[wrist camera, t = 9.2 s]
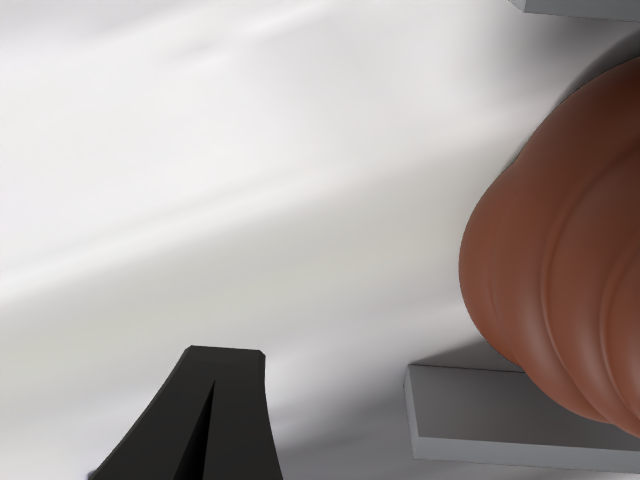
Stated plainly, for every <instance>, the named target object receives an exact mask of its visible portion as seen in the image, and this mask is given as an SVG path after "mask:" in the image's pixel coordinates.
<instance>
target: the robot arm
mask: <svg viewBox="0 0 640 480" xmlns="http://www.w3.org/2000/svg"><path fill="white" fill-rule="evenodd" d="M265 357H266V356H265V355H264V354H263V353H262V352H261V351H260V350H251V349H236V348H222V347H207V346H193V345H191V346H190V347H188V348H187V349H185V351H184V352H183V354H182V356H181V357H180V359H179V361H178V362H177V364H176V366H175V367H174V369H173V370H172V372H171V373H170V375H169V376H168V378H167V379H166V381H165V382H164V384H163V385H162V387H161V388H160V390H159V391H158V392H157V394H156V395H155V397H154V398H153V399H152V401H151V402H150V404H149V405H148V406H147V408H146V409H145V410H144V412H143V413H142V414H141V415H140V417H139V418H138V419H137V421H136V422H135V423H134V425H133V426H132V427H131V428H130V430H129V431H128V432H127V434H126V435H125V436H124V438H123V439H122V440H121V441H120V443H119V444H118V445H117V446H116V447H115V449H114V450H113V451H112V452H111V453H110V454H109V456H108V457H107V458H106V459H105V460H104V461H103V463H102V464H101V465H100V466H99V467H98V468H97V470H96V471H95V472H94V473H93V474H92V475H91V477H90V478H89V479H88V480H283V477H282V474H281V470H280V466H279V462H278V458H277V454H276V449H275V445H274V440H273V436H272V431H271V427H270V421H269V416H268V409H267V402H266V394H265Z"/></svg>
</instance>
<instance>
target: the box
mask: <svg viewBox="0 0 640 480" xmlns="http://www.w3.org/2000/svg"><path fill="white" fill-rule="evenodd" d="M508 1H510V2H511V3H512V4H514V5H515V6H516V7H517V8H519V9H520V10H521V11H522V12H526V13H538V14H549V15H561V16H573V17H585V18H596V19H608V20H620V21H631V22H640V0H508ZM404 393H405V401H406V408H407V416H408V423H409V431H410V438H411V445H412V453H413V459H424V460H439V461H455V462H470V463H485V464H500V465H515V466H530V467H545V468H560V469H576V470H591V471H606V472H621V473H636V474H640V438H638V437H635V436H633V435H631V434H629V433H627V432H625V431H624V430H622V429H620V428H619V427H617V426H616V425H614V424H609V423H603V422H599V421H595V420H591V419H588V418H585V417H583V416H580V415H578V414H575V413H573V412H572V411H570V410H568V409H566V408H564V407H563V406H561V405H560V404H558V403H557V402H555V401H554V400H552V399H551V398H550V397H549V396H547V395H546V394H545V393H544V392H543V391H542V390H541V389H540V388H539V387H538V386H537V385H536V384H535V383H534V382H533V381H532V380H531V379H530V377H529V376H528V375H527V374H526V373H518V372H504V371H490V370H476V369H461V368H447V367H433V366H419V365H408V367H407V372H406V377H405V381H404Z"/></svg>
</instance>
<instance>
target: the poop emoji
mask: <svg viewBox="0 0 640 480" xmlns="http://www.w3.org/2000/svg"><path fill="white" fill-rule="evenodd" d="M459 280H460V287H461V292H462V296H463V299H464V302H465V305H466V308H467V310H468V313H469V315H470V317H471V319H472V321H473V322H474V324H475V326H476V327H477V329H478V330H479V332H480V333H481V334H482V336H483V337H484V338H485V339H486V340H487V341H488V343H489V344H490V345H491V346H492V347H493V348H494V349H496V350H497V351H498V352H499V353H500V354H501V355H503V356H504V357H505V358H507V359H508V360H510V361H511V362H513V363H514V364H516V365H518V366H520V367H522V368H523V370H524V371H525V372H526V374H527V375H528V376H529V377H530V379H531V380H532V381H533V382H534V383H535V384H536V385H537V386H538V387H539V388H540V389H541V390H542V391H543V392H544V393H545V394H546V395H547V396H549V397H550V398H551V399H552V400H554V401H555V402H557V403H558V404H560V405H561V406H563V407H564V408H566V409H568V410H570V411H572V412H573V413H575V414H578V415H580V416H583V417H585V418H588V419H591V420H595V421H599V422H603V423H609V424H614V425H616V426H617V427H619V428H620V429H622V430H624V431H625V432H627V433H629V434H631V435H633V436H635V437H638V438H640V56H639V57H636V58H634V59H631V60H629V61H626V62H624V63H622V64H619V65H617V66H615V67H613V68H611V69H609V70H607V71H606V72H604V73H602V74H600V75H599V76H597V77H595V78H594V79H592V80H591V81H589V82H588V83H586V84H585V85H583V86H582V87H580V88H579V89H578V90H576V91H575V92H574V93H573V94H571V95H570V96H569V97H568V98H567V99H565V100H564V101H563V102H562V103H561V104H560V105H559V106H558V107H557V108H556V109H555V110H554V111H553V112H552V113H551V114H550V115H549V116H548V117H547V118H546V119H545V120H544V121H543V122H542V123H541V125H540V126H539V127H538V128H537V129H536V131H535V132H534V133H533V135H532V136H531V137H530V139H529V140H528V141H527V143H526V144H525V146H524V147H523V149H522V151H521V152H520V154H519V155H518V157H517V159H516V160H515V162H514V163H513V164H511V165H510V166H509V167H508V168H507V169H506V170H505V171H504V172H503V173H502V174H501V175H500V176H499V177H498V178H497V179H496V180H495V181H494V182H493V183H492V184H491V185H490V187H489V188H488V189H487V190H486V192H485V193H484V195H483V196H482V197H481V199H480V200H479V202H478V204H477V205H476V207H475V209H474V211H473V212H472V214H471V217H470V219H469V221H468V223H467V226H466V229H465V232H464V235H463V239H462V242H461V247H460V254H459Z"/></svg>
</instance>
